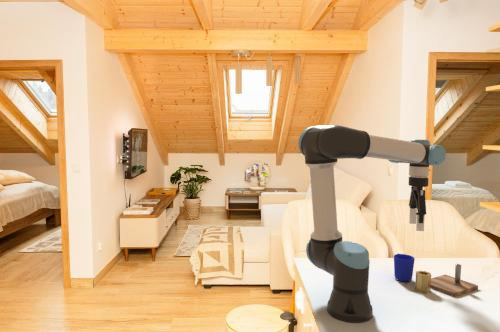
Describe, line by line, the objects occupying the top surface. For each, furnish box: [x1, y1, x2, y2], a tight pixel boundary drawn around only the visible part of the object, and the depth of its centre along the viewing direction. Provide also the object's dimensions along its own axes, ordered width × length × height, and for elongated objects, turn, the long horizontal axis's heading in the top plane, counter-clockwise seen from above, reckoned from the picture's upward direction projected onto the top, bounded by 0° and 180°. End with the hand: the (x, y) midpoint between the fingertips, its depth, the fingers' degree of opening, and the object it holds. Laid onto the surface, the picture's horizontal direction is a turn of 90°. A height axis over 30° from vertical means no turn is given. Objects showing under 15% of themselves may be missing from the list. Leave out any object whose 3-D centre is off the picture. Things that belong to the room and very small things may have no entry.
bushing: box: [414, 270, 432, 294], centre depth 151 cm, size 5×5×7 cm
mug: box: [393, 253, 416, 283], centre depth 164 cm, size 8×12×10 cm
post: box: [454, 263, 462, 285], centre depth 154 cm, size 3×3×8 cm
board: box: [431, 274, 479, 298], centre depth 155 cm, size 16×14×2 cm
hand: (416, 227), depth 159 cm, fingers open, 13 cm apart
